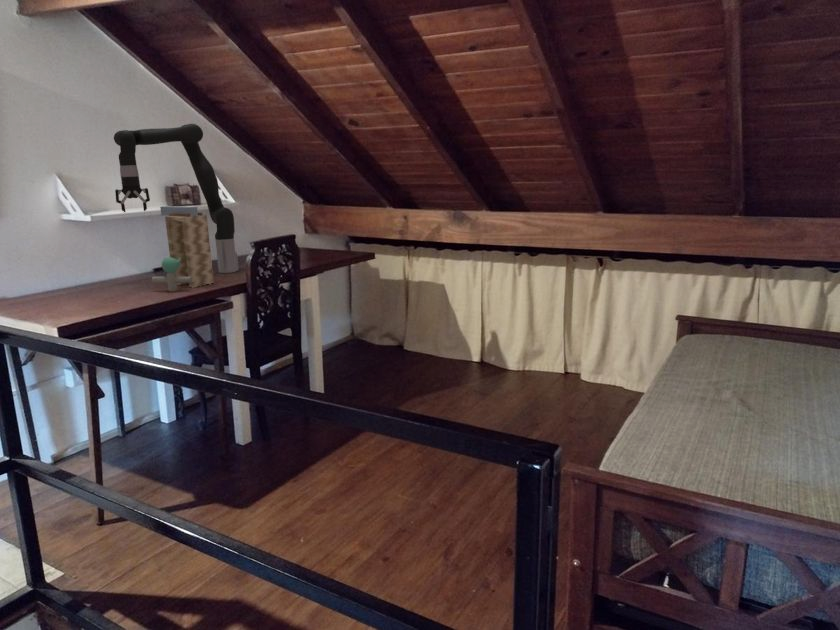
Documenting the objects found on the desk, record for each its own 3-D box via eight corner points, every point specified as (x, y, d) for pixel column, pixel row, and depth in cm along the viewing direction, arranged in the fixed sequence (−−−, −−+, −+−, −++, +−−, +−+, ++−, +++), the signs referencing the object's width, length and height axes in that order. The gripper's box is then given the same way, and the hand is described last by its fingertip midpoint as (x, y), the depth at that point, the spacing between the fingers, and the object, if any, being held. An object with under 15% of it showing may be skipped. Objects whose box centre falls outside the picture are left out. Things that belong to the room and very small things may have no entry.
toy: (196, 289, 282) (192, 256, 278) (189, 292, 275) (185, 258, 272) (157, 289, 284) (153, 256, 280) (149, 292, 277) (145, 258, 274)
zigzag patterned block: (195, 281, 302) (187, 211, 294) (214, 283, 294) (206, 212, 286) (173, 285, 292) (164, 213, 284) (192, 288, 284) (183, 214, 276)
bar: (168, 214, 295) (167, 206, 294) (197, 215, 284) (196, 206, 283) (161, 215, 292) (160, 206, 291) (190, 216, 280) (189, 207, 279)
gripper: (146, 175, 291) (151, 210, 295) (112, 176, 285) (117, 212, 289) (146, 175, 284) (151, 211, 288) (112, 176, 279) (117, 213, 283)
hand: (134, 211), depth 289 cm, fingers open, 8 cm apart
